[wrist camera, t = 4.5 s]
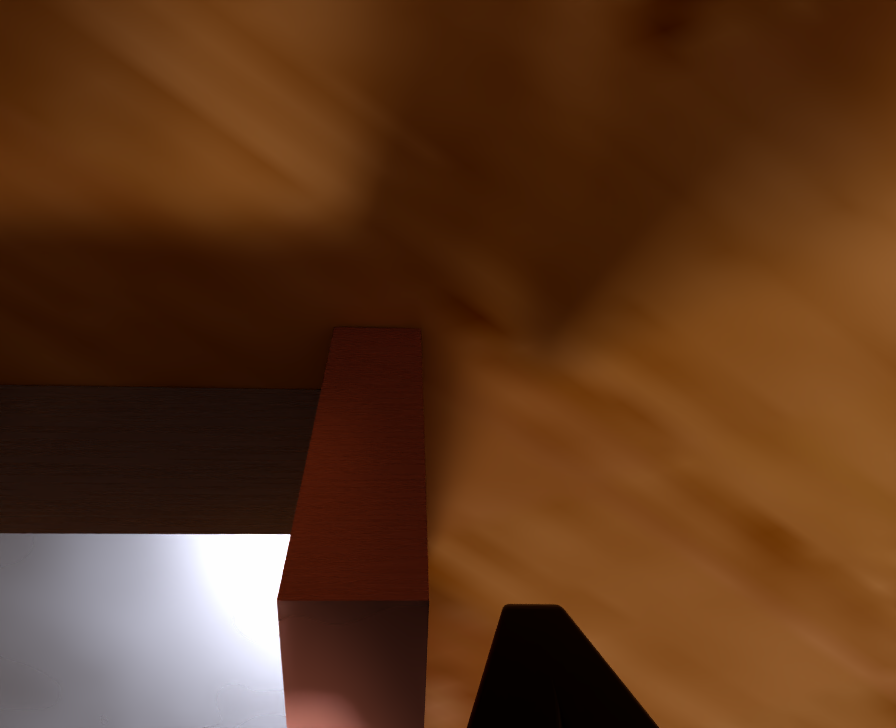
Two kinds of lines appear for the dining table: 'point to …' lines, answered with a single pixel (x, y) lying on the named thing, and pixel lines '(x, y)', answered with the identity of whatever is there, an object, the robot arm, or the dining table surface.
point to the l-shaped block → (218, 550)
